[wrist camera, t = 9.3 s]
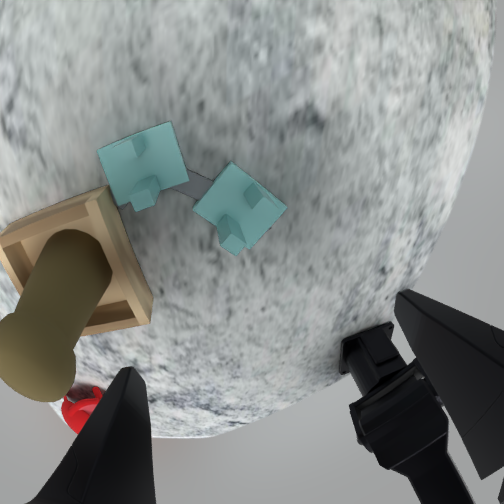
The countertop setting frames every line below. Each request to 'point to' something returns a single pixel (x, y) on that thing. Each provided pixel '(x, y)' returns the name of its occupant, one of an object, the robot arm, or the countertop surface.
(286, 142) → the countertop surface
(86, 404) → the red toy chair
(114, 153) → the clip
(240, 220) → the clip
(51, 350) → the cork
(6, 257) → the shallow tan tray
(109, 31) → the countertop surface
